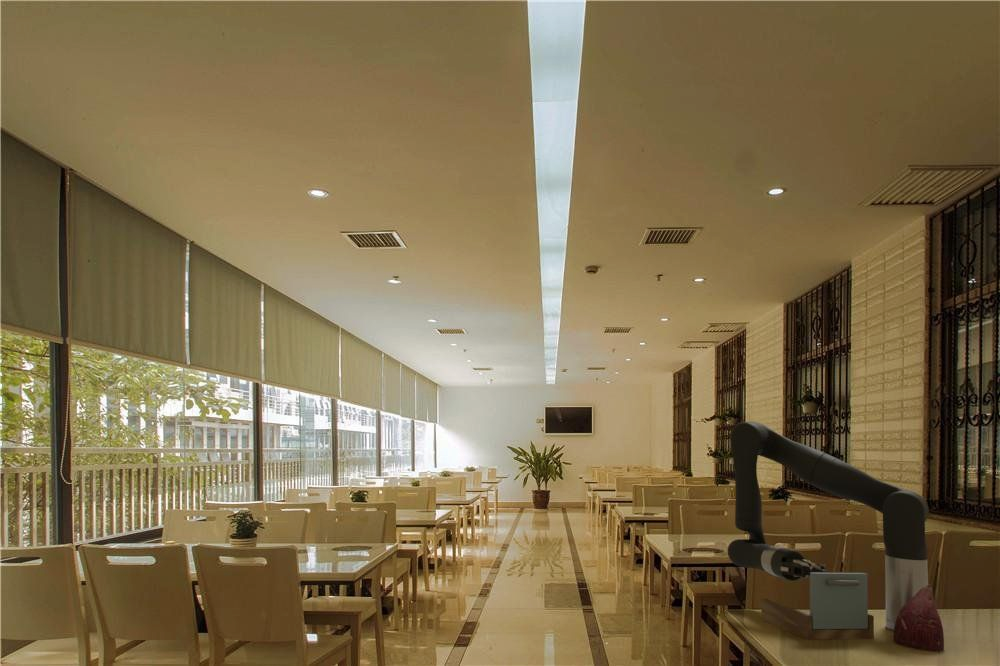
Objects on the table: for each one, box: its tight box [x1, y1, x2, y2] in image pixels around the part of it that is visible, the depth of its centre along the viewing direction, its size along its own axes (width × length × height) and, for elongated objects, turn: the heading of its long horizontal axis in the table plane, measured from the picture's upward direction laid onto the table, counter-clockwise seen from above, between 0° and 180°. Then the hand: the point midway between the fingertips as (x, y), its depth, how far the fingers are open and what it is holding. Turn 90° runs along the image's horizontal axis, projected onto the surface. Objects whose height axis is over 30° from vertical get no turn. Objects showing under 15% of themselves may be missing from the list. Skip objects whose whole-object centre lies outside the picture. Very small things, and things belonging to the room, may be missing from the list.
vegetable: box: [892, 583, 945, 652], centre depth 177 cm, size 10×10×15 cm
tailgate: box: [809, 572, 869, 629], centre depth 178 cm, size 14×2×12 cm, turn 104°
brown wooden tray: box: [760, 598, 875, 640], centre depth 186 cm, size 18×18×5 cm
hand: (826, 575), depth 184 cm, fingers closed
